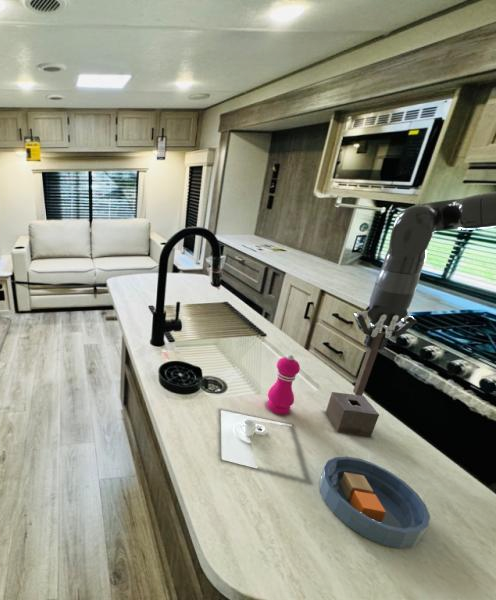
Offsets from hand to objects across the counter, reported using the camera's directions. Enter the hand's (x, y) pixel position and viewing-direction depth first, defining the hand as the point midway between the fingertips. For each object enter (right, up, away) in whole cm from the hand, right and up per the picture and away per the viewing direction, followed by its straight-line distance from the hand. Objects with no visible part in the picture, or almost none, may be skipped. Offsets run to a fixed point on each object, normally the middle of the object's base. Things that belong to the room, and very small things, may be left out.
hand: (373, 347), depth 84 cm
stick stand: (+1, -25, +10) cm, 26 cm away
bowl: (-14, -34, -14) cm, 39 cm away
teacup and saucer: (-29, -27, +4) cm, 40 cm away
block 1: (-15, -32, -11) cm, 37 cm away
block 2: (-16, -34, -16) cm, 41 cm away
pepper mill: (-16, -22, +17) cm, 32 cm away
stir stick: (0, -14, +6) cm, 15 cm away
